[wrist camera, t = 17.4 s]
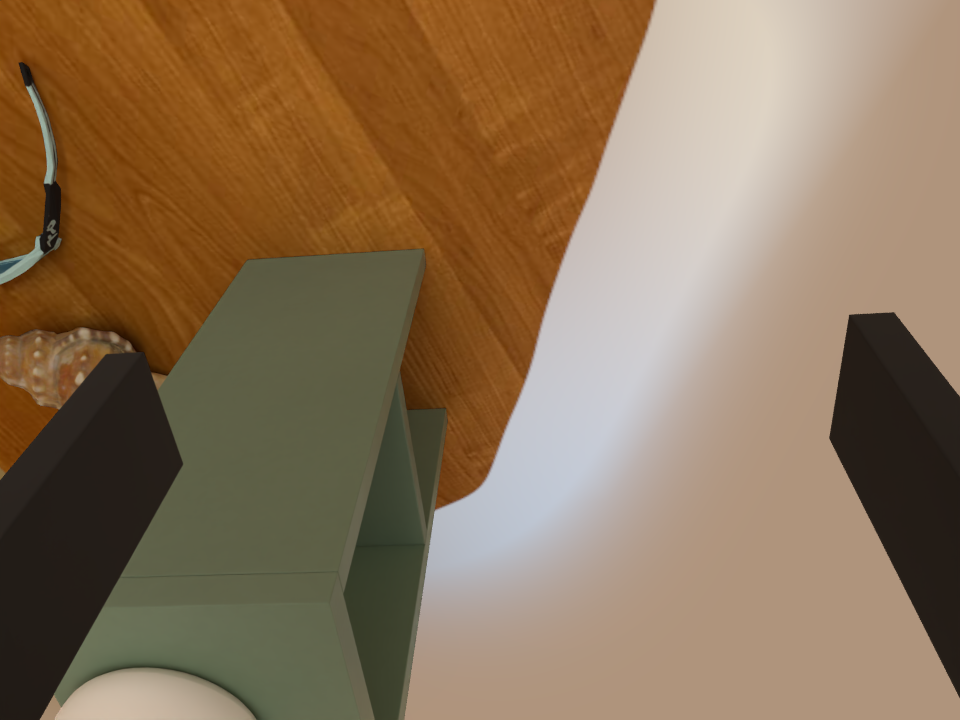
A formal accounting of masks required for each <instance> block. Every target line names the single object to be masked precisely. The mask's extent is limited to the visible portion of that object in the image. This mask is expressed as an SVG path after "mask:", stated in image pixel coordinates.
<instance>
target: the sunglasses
mask: <svg viewBox="0 0 960 720" xmlns="http://www.w3.org/2000/svg"><path fill="white" fill-rule="evenodd" d="M19 66H20V69H21V73H22V76H23V80H24V83H25V86H26V88H27V90H28V92H29V94H30V96H31V98H32V100H33V103H34V105H35V108H36V111H37V115H38V118H39V121H40V124H41V128H42V132H43V137H44V143H45V149H46V157H47V173H46V177H45V181H44V187H45V192H46V201H45V215H44V228H43V233H42V234H41V235H39V236H37V237H36V243H35V249H34V250H33V251H32V252H30V253H29V254H27V255H23V256H19V257H15V258H11V259H7V260H3V261H0V284H2V283H4V282H7V281H9V280H12V279H13V278H15V277H17V276H19V275H20V274H22V273H24V272H25V271H26V270H28V269H29V268H31V267H32V266H33V265H34V264H35V263H37V262H38V261H39V260H40V259H42V258H43V257H44V256H45V255H46V254H48V253H49V252H50V251H52V250H53V249H54V250H56V249H57V248H58V247H59V246H60V243H61V240H62V239H60V238H58V235H59V224H60V212H61V188H60V187H59V185H58V184H57V182H56V173H57V164H58V158H57V151H56V144H55V140H54V136H53V132H52V128H51V124H50V121H49V117H48V114H47V111H46V109H45V107H44V105H43V102H42V100H41V98H40V96H39V93H38V91H37V89H36V86H35V84H34V81H33V78H32V75H31V72H30V69H29V67H28V66H27V65H25V64H24V63H23V62H20V63H19Z"/></svg>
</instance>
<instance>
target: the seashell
mask: <svg viewBox="0 0 960 720" xmlns="http://www.w3.org/2000/svg"><path fill="white" fill-rule="evenodd" d="M134 352H136V351H135V349H134V348H133V346H132V345H131V343H130V342H129V341H128V340H126V339H124V338H122V337H120V336H119V335H118V334H116V333H114V332H111V331H110V332H106V331H99V330H94V329H89V328H85V327H78V328H75V329H74V330H73V331H69V332H66V333H60V334H56V333H55V332H49V331H44V330H39V329H34V330H31V331H28V332H26V333H24V334H22V335H20V336H12V335H9V336H3V337H0V377H1V378H2V379H3V380H4V381H5V382H6V383H7V384H9V385H13V386H17V387H20V388H24V389H25V390H26V391H28V392H29V393H30V394H31V396H32V397H33V399H34V400H35V401H36V402H37V404H39V405H41V406H47V407H53V408H57V409H60V408H61V407H62V406H63V405H64V404H65V402H66V401H67V400H68V399H69V398H70V396H71V395H72V394H73V393H74V392H75V390H76V389H77V388H78V387H79V386H80V384H81V383H82V382H83V381H84V380H85V378H86V377H87V376H88V375H89V374H90V372H91V371H92V370H93V369H94V368H95V366H96V365H97V364H98V363H99V362H100V361H101V359H102V358H103V357H104V356H105V355H106V354H115V353H134ZM151 374H152V376H153V379H154V382H155V385H156V388H157V390H158V389H159V388H160V386H161V385H162V383H163V382H164V380H165V379H166V377H167V376H166V375H162V374H158V373H153V372H151Z"/></svg>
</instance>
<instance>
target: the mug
mask: <svg viewBox="0 0 960 720" xmlns="http://www.w3.org/2000/svg"><path fill="white" fill-rule="evenodd" d="M54 720H256V718H255V716H254V715H253V714H252V713H251V711H250V710H249V709H248V708H247V707H246V706H245V705H244V704H243V703H242V702H241V701H240V700H239V699H237V698H236V697H235V696H233V695H232V694H231V693H229V692H228V691H226V690H224V689H223V688H221V687H219V686H217V685H215V684H213V683H211V682H209V681H207V680H204V679H202V678H200V677H197V676H194V675H190V674H187V673H184V672H179V671H175V670H169V669H162V668H150V667H141V668H128V669H121V670H117V671H112V672H109V673H106V674H103V675H100V676H98V677H95V678H93V679H91V680H89V681H88V682H86V683H85V684H83V685H82V686H81V687H79V688H78V689H77V690H75V691H74V692H73V693H72V695H71V696H70V697H69V698H68V699H67V701H66V702H65V703H64V704H63V706H62V707H61V709H60V711H59V712H58V714H57V715H56V717H55V719H54Z"/></svg>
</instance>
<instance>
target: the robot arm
mask: <svg viewBox="0 0 960 720" xmlns="http://www.w3.org/2000/svg"><path fill="white" fill-rule="evenodd" d="M829 438H830V441H831V443H832V445H833V447H834V449H835V451H836V453H837V455H838V457H839V459H840V461H841V463H842V465H843V467H844V469H845V470H846V473H847V475H848V477H849V479H850V481H851V483H852V485H853V487H854V489H855V491H856V493H857V494H858V497H859V499H860V500H861V503H862V505H863V507H864V508H865V511H866V513H867V514H868V516H869V518H870V520H871V522H872V524H873V526H874V528H875V530H876V532H877V534H878V536H879V538H880V540H881V542H882V544H883V546H884V548H885V550H886V552H887V554H888V556H889V558H890V560H891V562H892V564H893V566H894V568H895V570H896V572H897V574H898V576H899V578H900V580H901V582H902V584H903V586H904V588H905V590H906V592H907V594H908V596H909V598H910V600H911V602H912V604H913V606H914V608H915V610H916V612H917V614H918V616H919V618H920V620H921V622H922V624H923V626H924V628H925V630H926V632H927V633H928V636H929V637H930V640H931V642H932V644H933V646H934V648H935V650H936V652H937V654H938V656H939V658H940V660H941V662H942V664H943V665H944V668H945V670H946V672H947V674H948V676H949V678H950V679H951V682H952V684H953V686H954V687H955V690H956V692H957V694H958V696H959V697H960V397H959V395H958V394H957V393H956V391H955V390H954V389H953V388H952V386H951V385H950V384H949V382H948V381H947V380H946V379H945V377H944V376H943V375H942V374H941V372H940V371H939V370H938V368H937V367H936V366H935V364H934V363H933V362H932V361H931V359H930V358H929V357H928V356H927V354H926V353H925V352H924V350H923V349H922V348H921V346H920V345H919V344H918V343H917V341H916V340H915V339H914V338H913V336H912V335H911V334H910V332H909V331H908V330H907V328H906V327H905V326H904V325H903V323H902V322H901V321H900V319H899V318H898V317H897V316H896V314H895V313H894V312H892V313H875V314H874V313H873V314H854V315H849V320H848V326H847V333H846V338H845V344H844V351H843V357H842V363H841V369H840V376H839V381H838V388H837V394H836V400H835V406H834V412H833V419H832V425H831V431H830V437H829ZM182 466H183V461H182V458H181V455H180V453H179V450H178V447H177V444H176V441H175V438H174V436H173V433H172V430H171V427H170V424H169V421H168V419H167V416H166V413H165V410H164V407H163V405H162V402H161V399H160V396H159V393H158V390H157V388H156V385H155V382H154V379H153V376H152V374H151V371H150V368H149V365H148V362H147V359H146V357H145V354H144V352H134V353H115V354H106V355H105V356H104V357H103V358H102V359H101V361H100V362H99V363H98V364H97V365H96V366H95V368H94V369H93V370H92V371H91V372H90V374H89V375H88V376H87V377H86V378H85V380H84V381H83V382H82V383H81V384H80V386H79V387H78V388H77V389H76V390H75V392H74V393H73V394H72V395H71V396H70V398H69V399H68V400H67V401H66V402H65V404H64V405H63V406H62V407H61V408H60V409H59V411H58V412H57V413H56V414H55V415H54V417H53V418H52V419H51V420H50V421H49V423H48V424H47V425H46V426H45V427H44V429H43V430H42V431H41V432H40V433H39V435H38V436H37V437H36V438H35V439H34V441H33V442H32V443H31V444H30V445H29V447H28V448H27V449H26V450H25V451H24V452H23V454H22V455H21V456H20V457H19V458H18V460H17V461H16V462H15V463H14V464H13V466H12V467H11V468H10V469H9V470H8V472H7V473H6V474H5V475H4V476H3V478H2V479H1V480H0V720H40V718H41V716H42V715H43V713H44V711H45V709H46V707H47V706H48V704H49V702H50V700H51V698H52V697H53V695H54V693H55V692H56V690H57V688H58V686H59V684H60V683H61V681H62V679H63V677H64V676H65V674H66V672H67V670H68V668H69V667H70V665H71V663H72V661H73V660H74V658H75V656H76V654H77V652H78V651H79V649H80V647H81V645H82V644H83V642H84V640H85V638H86V636H87V635H88V633H89V631H90V629H91V628H92V626H93V624H94V622H95V620H96V619H97V617H98V615H99V613H100V612H101V610H102V608H103V606H104V604H105V603H106V601H107V599H108V597H109V596H110V594H111V592H112V590H113V588H114V587H115V585H116V583H117V581H118V580H119V578H120V576H121V574H122V572H123V571H124V569H125V567H126V565H127V564H128V562H129V560H130V558H131V557H132V555H133V553H134V551H135V549H136V548H137V546H138V544H139V542H140V541H141V539H142V537H143V535H144V533H145V532H146V530H147V528H148V526H149V525H150V523H151V521H152V519H153V517H154V516H155V514H156V512H157V510H158V509H159V507H160V505H161V503H162V501H163V500H164V498H165V496H166V494H167V493H168V491H169V489H170V487H171V485H172V484H173V482H174V480H175V478H176V477H177V475H178V473H179V471H180V469H181V468H182Z"/></svg>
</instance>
